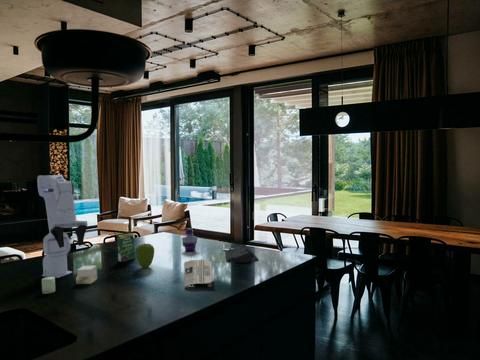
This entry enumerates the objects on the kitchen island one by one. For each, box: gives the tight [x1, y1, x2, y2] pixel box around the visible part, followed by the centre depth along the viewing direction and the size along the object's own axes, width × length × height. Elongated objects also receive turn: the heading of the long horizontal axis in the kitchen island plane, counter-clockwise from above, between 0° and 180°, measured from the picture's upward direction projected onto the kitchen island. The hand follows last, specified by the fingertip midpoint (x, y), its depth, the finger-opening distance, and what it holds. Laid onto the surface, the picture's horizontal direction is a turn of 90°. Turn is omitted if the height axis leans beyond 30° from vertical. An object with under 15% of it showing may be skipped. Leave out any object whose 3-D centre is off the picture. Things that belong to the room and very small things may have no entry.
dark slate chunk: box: [224, 245, 259, 264], centre depth 181 cm, size 15×22×5 cm
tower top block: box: [76, 265, 98, 277], centre depth 149 cm, size 6×6×3 cm
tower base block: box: [75, 272, 98, 285], centre depth 149 cm, size 6×6×3 cm
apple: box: [135, 243, 155, 269], centre depth 166 cm, size 9×8×12 cm
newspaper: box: [183, 259, 214, 289], centre depth 154 cm, size 35×12×4 cm, turn 9°
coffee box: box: [116, 232, 136, 263], centre depth 180 cm, size 8×3×13 cm, turn 137°
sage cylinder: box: [41, 276, 56, 295], centre depth 138 cm, size 4×4×5 cm
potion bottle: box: [181, 227, 198, 253], centre depth 196 cm, size 9×9×12 cm
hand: (71, 246), depth 138 cm, fingers open, 7 cm apart
